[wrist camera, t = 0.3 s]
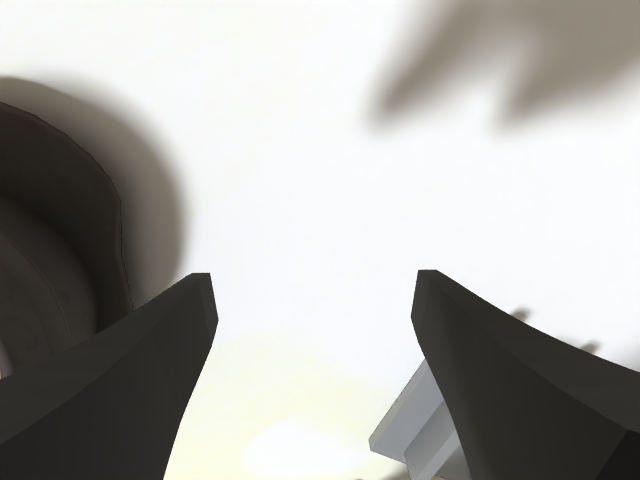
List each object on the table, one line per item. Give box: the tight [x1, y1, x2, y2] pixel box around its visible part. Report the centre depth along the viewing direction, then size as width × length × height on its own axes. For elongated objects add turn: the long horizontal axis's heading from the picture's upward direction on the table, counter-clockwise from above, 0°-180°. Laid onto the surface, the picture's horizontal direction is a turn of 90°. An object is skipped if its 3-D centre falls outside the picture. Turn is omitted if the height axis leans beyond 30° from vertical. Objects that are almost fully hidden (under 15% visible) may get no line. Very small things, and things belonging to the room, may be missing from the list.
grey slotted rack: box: [369, 359, 472, 480], centre depth 24 cm, size 14×26×5 cm, turn 64°
